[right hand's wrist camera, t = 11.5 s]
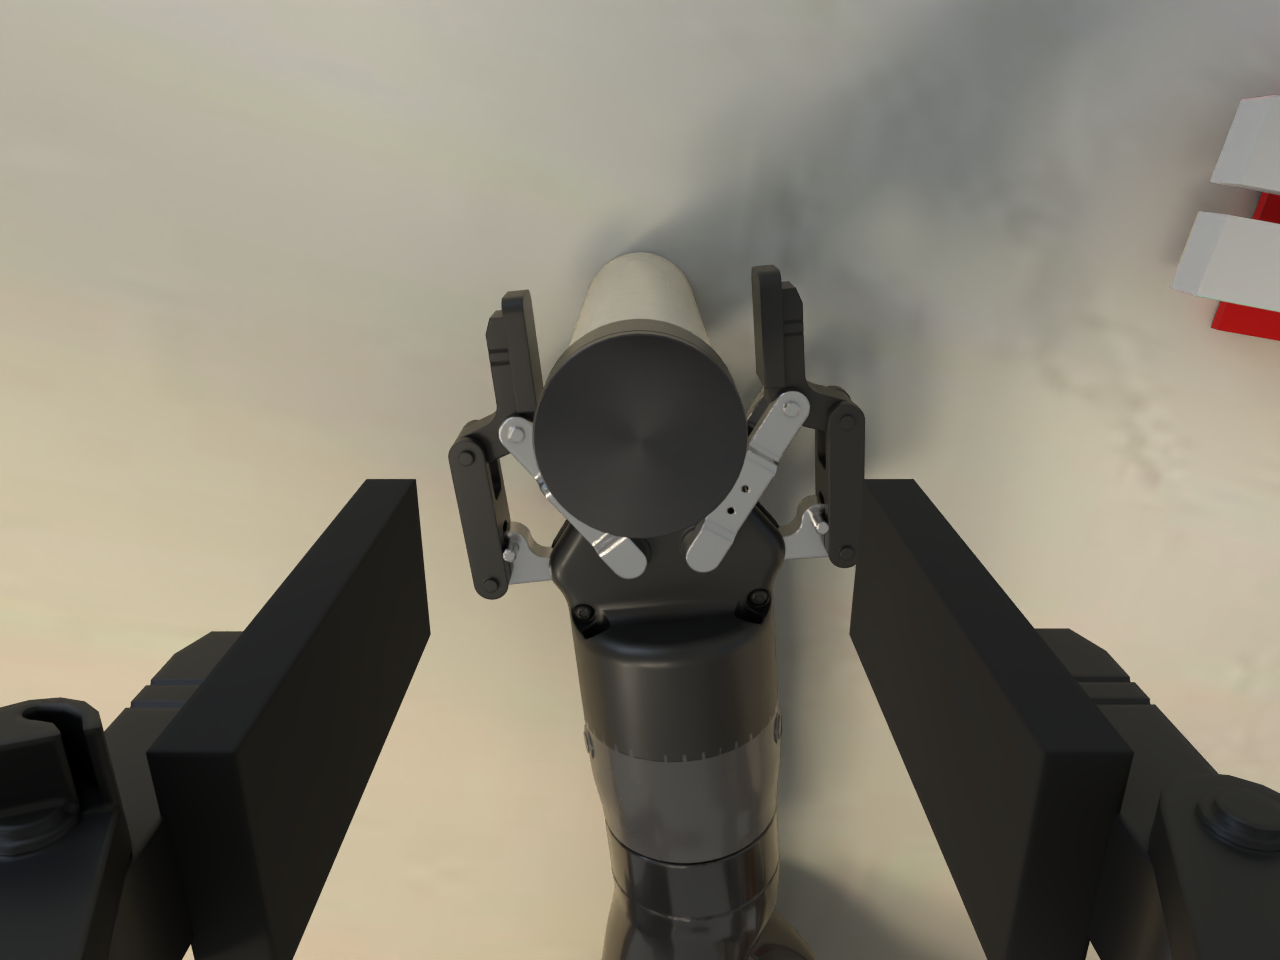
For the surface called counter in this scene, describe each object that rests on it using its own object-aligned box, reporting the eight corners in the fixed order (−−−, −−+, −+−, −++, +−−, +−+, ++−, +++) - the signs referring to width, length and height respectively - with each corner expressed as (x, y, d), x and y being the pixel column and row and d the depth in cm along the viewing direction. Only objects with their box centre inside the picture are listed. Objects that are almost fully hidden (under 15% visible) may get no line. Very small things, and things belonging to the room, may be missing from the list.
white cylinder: (693, 250, 35) (736, 337, 19) (693, 359, 36) (734, 520, 21) (583, 253, 35) (538, 342, 19) (588, 361, 36) (550, 524, 21)
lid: (741, 315, 20) (750, 331, 19) (738, 507, 22) (745, 537, 20) (533, 320, 20) (524, 336, 19) (546, 511, 22) (538, 541, 20)
